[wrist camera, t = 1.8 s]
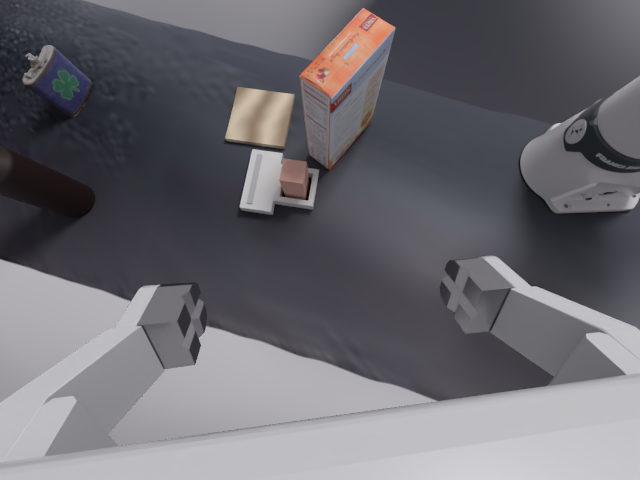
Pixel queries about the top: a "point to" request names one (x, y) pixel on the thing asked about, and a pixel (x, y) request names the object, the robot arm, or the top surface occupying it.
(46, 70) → the flask
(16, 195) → the bottle
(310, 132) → the cracker box
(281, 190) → the dispenser
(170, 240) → the top surface
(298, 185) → the block
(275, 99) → the board
